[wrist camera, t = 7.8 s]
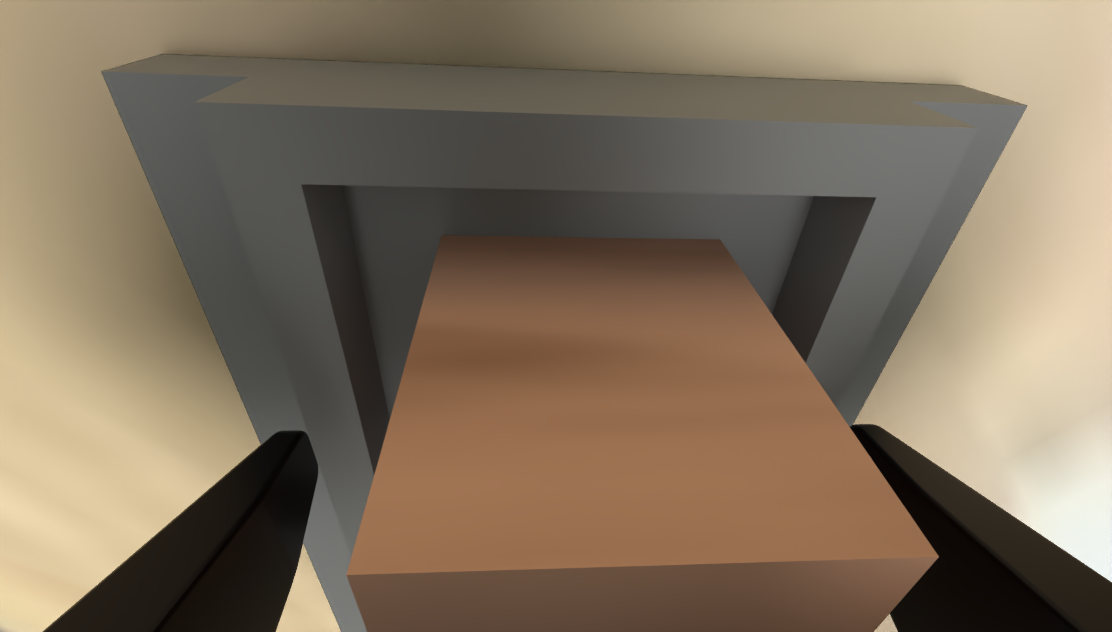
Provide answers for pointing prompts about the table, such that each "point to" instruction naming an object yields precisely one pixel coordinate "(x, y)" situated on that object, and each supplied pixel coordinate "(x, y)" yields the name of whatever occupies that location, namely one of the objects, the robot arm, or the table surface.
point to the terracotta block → (619, 457)
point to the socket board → (528, 214)
